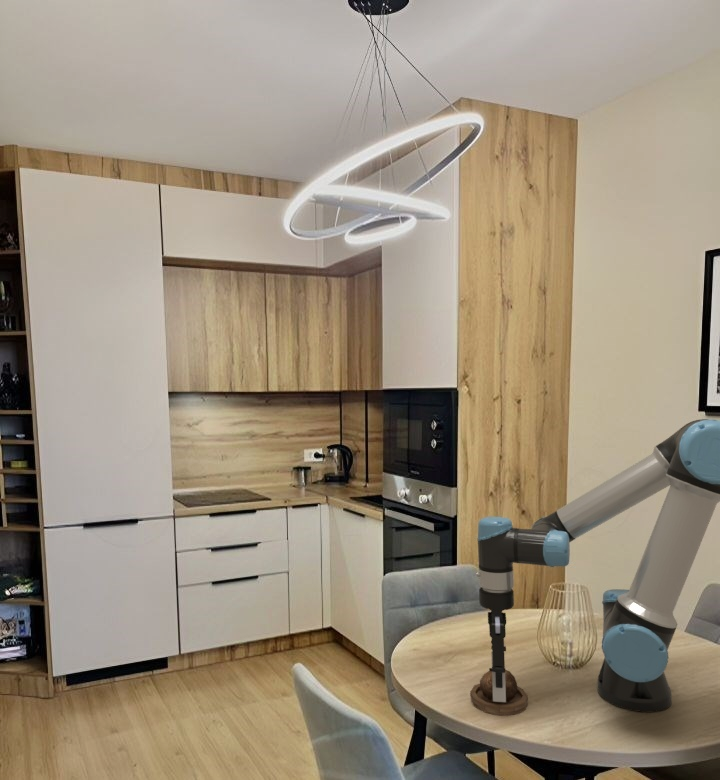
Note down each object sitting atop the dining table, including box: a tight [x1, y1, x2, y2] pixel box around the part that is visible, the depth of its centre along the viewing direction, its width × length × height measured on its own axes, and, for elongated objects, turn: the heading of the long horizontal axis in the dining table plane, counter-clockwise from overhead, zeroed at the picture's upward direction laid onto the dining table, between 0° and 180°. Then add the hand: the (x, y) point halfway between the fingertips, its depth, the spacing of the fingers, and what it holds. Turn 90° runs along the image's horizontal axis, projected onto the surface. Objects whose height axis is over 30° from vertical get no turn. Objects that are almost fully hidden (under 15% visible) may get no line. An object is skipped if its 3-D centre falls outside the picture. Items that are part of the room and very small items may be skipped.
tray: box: [469, 683, 529, 717], centre depth 133 cm, size 12×12×2 cm
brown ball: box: [479, 669, 518, 703], centre depth 133 cm, size 8×8×6 cm
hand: (498, 690), depth 133 cm, fingers open, 9 cm apart
